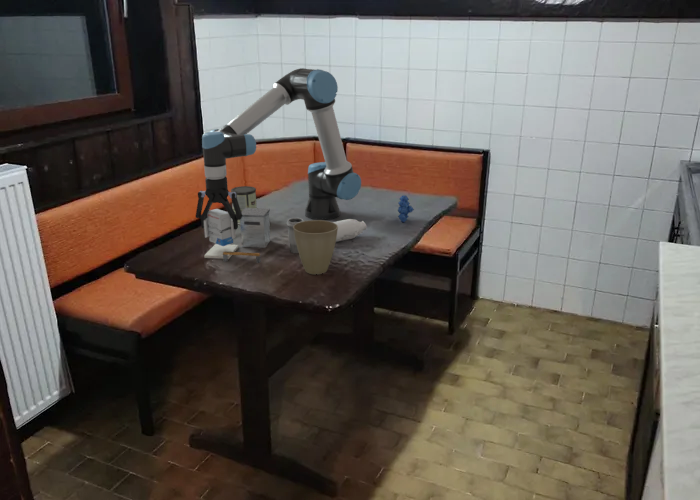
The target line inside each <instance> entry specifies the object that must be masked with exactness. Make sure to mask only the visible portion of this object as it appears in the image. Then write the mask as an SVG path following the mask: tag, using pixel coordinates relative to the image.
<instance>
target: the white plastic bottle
mask: <svg viewBox="0 0 700 500" xmlns="http://www.w3.org/2000/svg"><path fill="white" fill-rule="evenodd" d="M332 222H333V223H335V224H337V225H338V230H337V237H336V243H338V242H343V241H347V240H353V239H355V238H356V237H358V236H359V235H361V234H363V231H366V230H367V224H366V222H364V220H362V221H358V220H357V219H352V218H348V219H343V220H337V221H332Z"/></svg>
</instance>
